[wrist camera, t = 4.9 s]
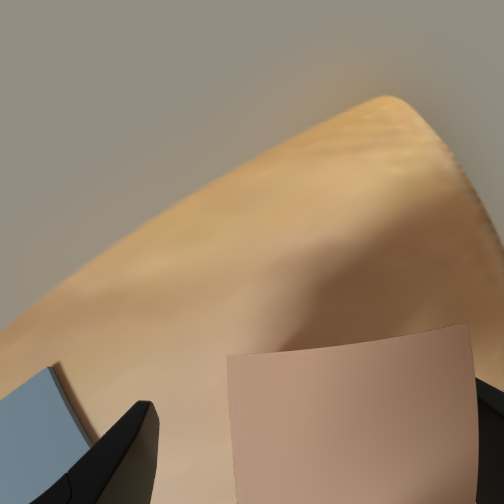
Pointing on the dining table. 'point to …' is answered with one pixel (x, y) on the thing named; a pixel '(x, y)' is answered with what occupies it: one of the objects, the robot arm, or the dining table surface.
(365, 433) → the block
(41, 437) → the mat
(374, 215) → the dining table surface
